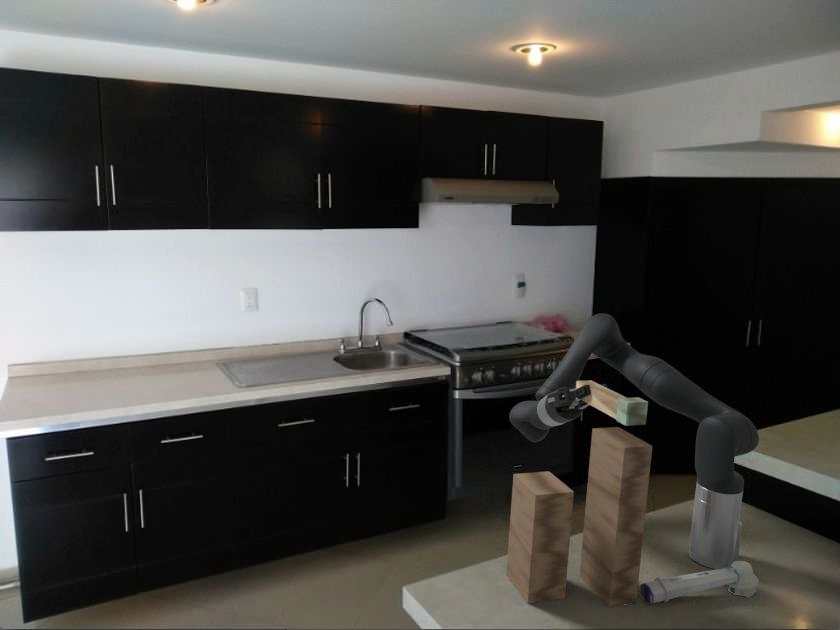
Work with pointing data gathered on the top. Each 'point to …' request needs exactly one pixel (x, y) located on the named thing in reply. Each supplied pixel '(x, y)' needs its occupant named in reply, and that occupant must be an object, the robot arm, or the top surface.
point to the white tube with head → (702, 583)
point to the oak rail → (616, 404)
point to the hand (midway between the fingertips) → (597, 388)
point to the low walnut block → (539, 536)
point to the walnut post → (615, 514)
